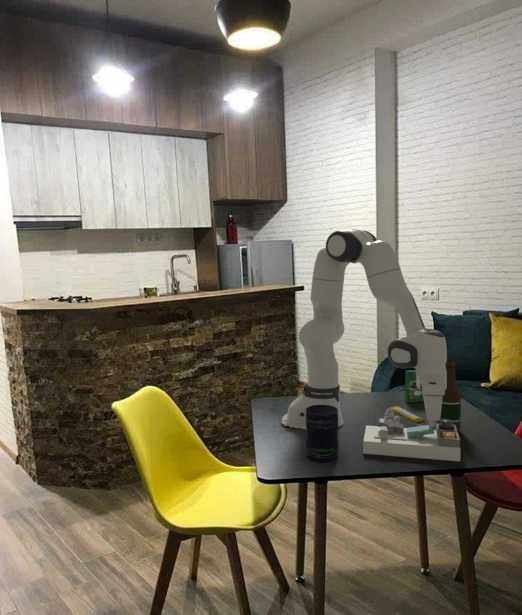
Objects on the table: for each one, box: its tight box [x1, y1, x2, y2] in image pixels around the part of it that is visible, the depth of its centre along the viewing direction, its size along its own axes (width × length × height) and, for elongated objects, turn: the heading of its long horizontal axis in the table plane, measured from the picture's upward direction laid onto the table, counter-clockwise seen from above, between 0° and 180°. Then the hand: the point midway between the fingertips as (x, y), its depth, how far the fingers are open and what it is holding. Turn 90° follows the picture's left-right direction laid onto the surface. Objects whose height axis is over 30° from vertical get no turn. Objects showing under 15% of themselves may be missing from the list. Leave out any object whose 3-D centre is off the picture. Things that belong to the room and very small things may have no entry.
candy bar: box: [390, 405, 425, 423], centre depth 188 cm, size 17×4×2 cm, turn 20°
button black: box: [440, 419, 453, 430], centre depth 157 cm, size 4×4×2 cm
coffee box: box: [404, 369, 424, 404], centre depth 204 cm, size 8×3×13 cm, turn 97°
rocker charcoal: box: [377, 417, 405, 433], centre depth 161 cm, size 8×4×2 cm, turn 74°
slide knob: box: [381, 426, 387, 439], centre depth 155 cm, size 2×3×3 cm, turn 165°
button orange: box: [442, 432, 455, 439], centre depth 150 cm, size 4×4×2 cm
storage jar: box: [305, 405, 340, 464], centre depth 152 cm, size 10×10×15 cm
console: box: [362, 420, 461, 462], centre depth 157 cm, size 28×14×7 cm, turn 75°
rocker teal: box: [406, 424, 435, 437], centre depth 156 cm, size 8×4×2 cm, turn 75°
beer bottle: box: [436, 361, 462, 434], centre depth 170 cm, size 8×8×24 cm
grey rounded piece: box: [382, 405, 401, 424], centre depth 176 cm, size 5×7×8 cm
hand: (431, 425), depth 155 cm, fingers closed
